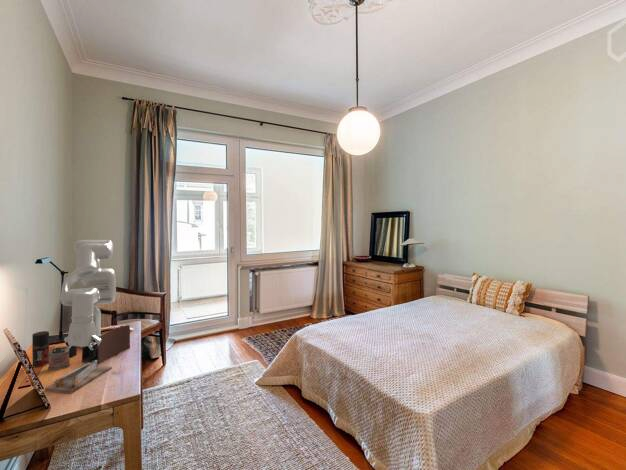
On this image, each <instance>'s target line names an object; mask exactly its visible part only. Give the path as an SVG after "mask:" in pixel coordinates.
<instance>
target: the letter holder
mask: <svg viewBox="0 0 626 470" xmlns="http://www.w3.org/2000/svg"><path fill="white" fill-rule="evenodd" d="M130 328H131V326H130V325H129V324H125V325H122V326H119V327H116V328H112V329H111V330H109V331H107V332H104V333H103V334H101V336H99V337H98V338H100V339H101V340H102V341H101V343H100V345H99V346H98V348H96V357H95V358H93V359H89V350H90V348H89V347H88V346H86V347H81V350H82V351H81V362H82V363H89V362H91V363H92V361H93V360H97V365H100V364H101V363H103V362H104V361H107V360H110V359H111V358H113V357H115V356H117V355H119V354H121V353H124V352H125V351H127V350H129V349H130V348H131V329H130ZM95 343H96V342H95ZM92 346H93V345H92Z"/></svg>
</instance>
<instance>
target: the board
mask: <svg viewBox="0 0 626 470" xmlns="http://www.w3.org/2000/svg"><path fill="white" fill-rule="evenodd" d="M112 369H113V367H112V366H109V365H108V366H107V365H100V364H97V368H96V369H95V370H94V371H93V372H92V373H90V374H89V375H88V376H87V377H86V378H85V379H83V380H82V381H81V382H80V383H79V384H78V385H77V386H76V387H72V380H71V381H69V382H67V383H66V384H64V385H62V386H60V387H56V382H54V383H52V384H50V385H48V386H46V387H45V389H44V390H45V392H55V393H69V394H73V393H75V392H76V391H78V390H79V389H80V388H82V387H84V386H86V385H87V384H89V383H91V382H92V381H94V380H96V379H98V378H99V377H100V376H102V375H103V374H106V373H107V372H109V371H110V370H112Z"/></svg>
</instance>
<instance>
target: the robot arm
mask: <svg viewBox="0 0 626 470" xmlns="http://www.w3.org/2000/svg"><path fill="white" fill-rule="evenodd" d="M73 248H74V252H75V253H76V265H75V270H74V271H73V272H71V273H70V274H69V275H67V276H66V278H65V279H64V281H63V282H62V285H61V292H60V302H61V305H63V306H65V307H71V310H72V311H71V315H72V316H71V317H70V319H71V322H70V324H69V328H68V334H67V336H65V337H64V338H63V340H64V342H65V343H64V344H65V346H68V347H67V348H68V349H67V350H69V358H70V359H71V358H74V357H76V356H77V348H83V347H86V346H88V347H89V348H90V350H89V359H93V358H95V357H96V348H98V346H99V345H100V343H101V341H102V340H101V339H100V338H98V337H99V336H101V335H102V334H101V333H102V312H101V309H100V308H99V307H98V306H97V305H106V304H111V303H114V302H115V300H116V296H117V286H116V285H117V279H116V278H117V275H116V271H115V270H114V269H113V268H111V267H110V268H109V267H108V268H107V267H105V268H101V260H109V259H111V258H112V257H113V253H114V242H113V241H112V240H111V239H79V240H76V241H74V244H73ZM79 281H81V284H82V285H83V286H85V288H84V287H83V288H71V287H72V286H73V285H74V284H76V283H77V282H79ZM95 286H97V287H95ZM99 286H100V287H99ZM87 287H88V288H87ZM95 342H96V343H95ZM92 345H93V346H92Z"/></svg>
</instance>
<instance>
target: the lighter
mask: <svg viewBox="0 0 626 470" xmlns="http://www.w3.org/2000/svg"><path fill="white" fill-rule="evenodd" d="M67 347H68V346H67V345H61V346H60V345H58V346H57V347H55V346H54V347H51V351H49V353H48V355H49V363H48V366H47V367H48V368H47V369H48V370H49V371H50V370H59V369H65V368H67V369H68V367H71V363H70V361H71V360H70V359H71V358H69V349H68V348H67Z"/></svg>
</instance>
